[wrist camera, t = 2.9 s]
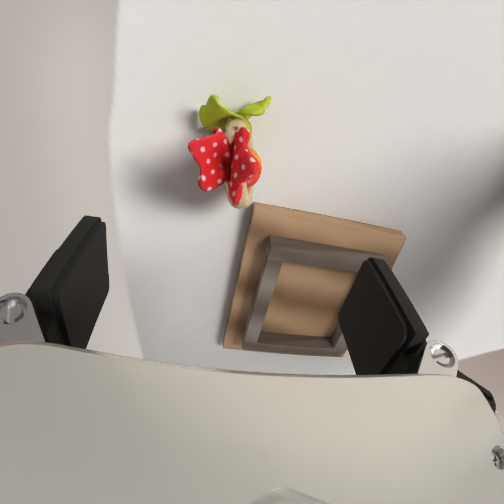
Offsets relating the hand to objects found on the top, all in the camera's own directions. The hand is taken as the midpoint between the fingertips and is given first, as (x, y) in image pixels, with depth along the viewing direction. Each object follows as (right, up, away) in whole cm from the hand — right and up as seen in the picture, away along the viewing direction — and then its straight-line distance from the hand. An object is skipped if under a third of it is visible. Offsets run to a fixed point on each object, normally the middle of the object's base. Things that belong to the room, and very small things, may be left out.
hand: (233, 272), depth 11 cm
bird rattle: (0, +11, +17) cm, 20 cm away
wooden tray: (+7, -4, +27) cm, 28 cm away
